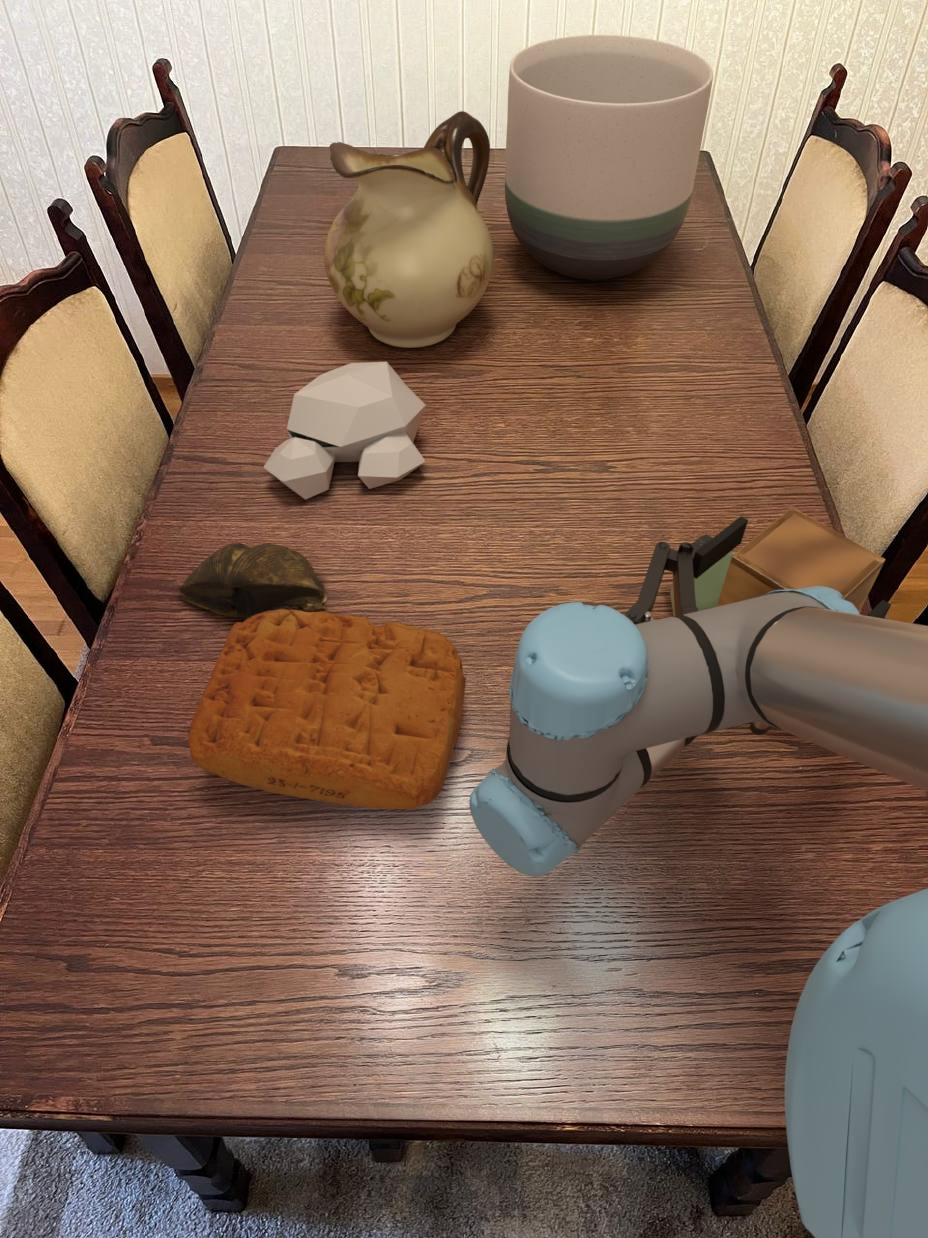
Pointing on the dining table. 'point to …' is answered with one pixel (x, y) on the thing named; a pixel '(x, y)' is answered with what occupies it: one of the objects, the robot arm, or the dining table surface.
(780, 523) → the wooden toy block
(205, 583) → the seashell
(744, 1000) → the dining table surface
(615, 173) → the planter
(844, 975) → the robot arm
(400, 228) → the pitcher
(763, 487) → the dining table surface
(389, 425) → the rock
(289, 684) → the cuneiform tablet
